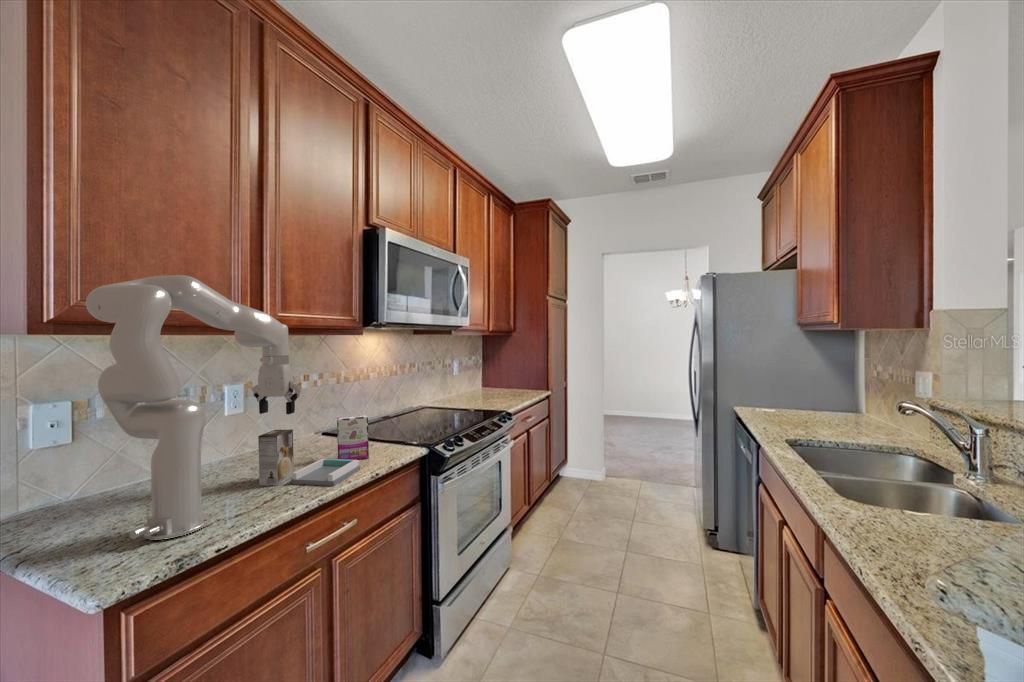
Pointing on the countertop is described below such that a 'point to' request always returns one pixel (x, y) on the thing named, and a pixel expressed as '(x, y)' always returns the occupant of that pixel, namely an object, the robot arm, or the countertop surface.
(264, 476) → the coffee box
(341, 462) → the tray
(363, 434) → the candy bar box
